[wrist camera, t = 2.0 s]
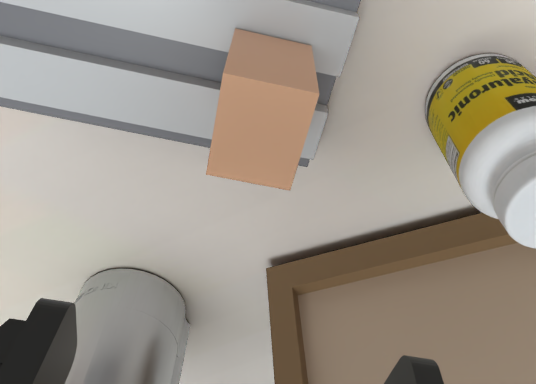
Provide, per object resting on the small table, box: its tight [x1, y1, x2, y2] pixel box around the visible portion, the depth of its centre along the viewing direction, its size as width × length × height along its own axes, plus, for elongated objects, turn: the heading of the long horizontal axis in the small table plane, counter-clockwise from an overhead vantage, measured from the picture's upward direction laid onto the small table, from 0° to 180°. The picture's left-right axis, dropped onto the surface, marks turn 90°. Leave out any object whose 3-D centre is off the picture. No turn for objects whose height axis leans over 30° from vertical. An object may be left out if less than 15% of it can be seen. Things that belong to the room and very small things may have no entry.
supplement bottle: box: [425, 54, 536, 249], centre depth 24 cm, size 6×6×11 cm
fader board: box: [0, 0, 361, 167], centre depth 26 cm, size 20×11×3 cm, turn 78°
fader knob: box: [206, 28, 319, 190], centre depth 23 cm, size 4×5×7 cm
